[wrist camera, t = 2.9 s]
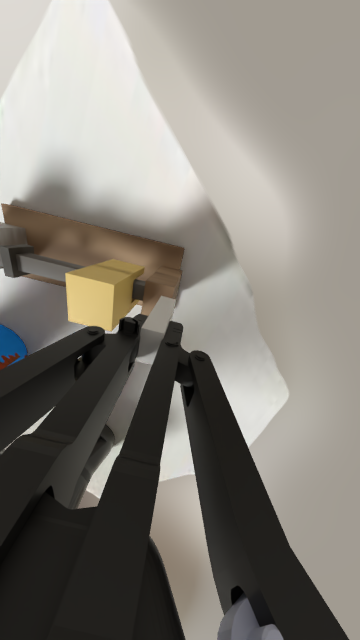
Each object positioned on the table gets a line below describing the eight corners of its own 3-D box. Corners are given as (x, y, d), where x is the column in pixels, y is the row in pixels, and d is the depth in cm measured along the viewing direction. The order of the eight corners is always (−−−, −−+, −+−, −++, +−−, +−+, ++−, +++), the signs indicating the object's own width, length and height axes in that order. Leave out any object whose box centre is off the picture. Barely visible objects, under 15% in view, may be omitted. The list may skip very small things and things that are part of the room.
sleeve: (140, 299, 24) (111, 331, 16) (111, 292, 24) (68, 320, 16) (144, 266, 22) (114, 284, 14) (113, 259, 22) (65, 272, 14)
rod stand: (173, 310, 30) (162, 344, 21) (15, 271, 30) (-67, 288, 21) (187, 248, 26) (181, 256, 17) (2, 202, 26) (-109, 185, 17)
